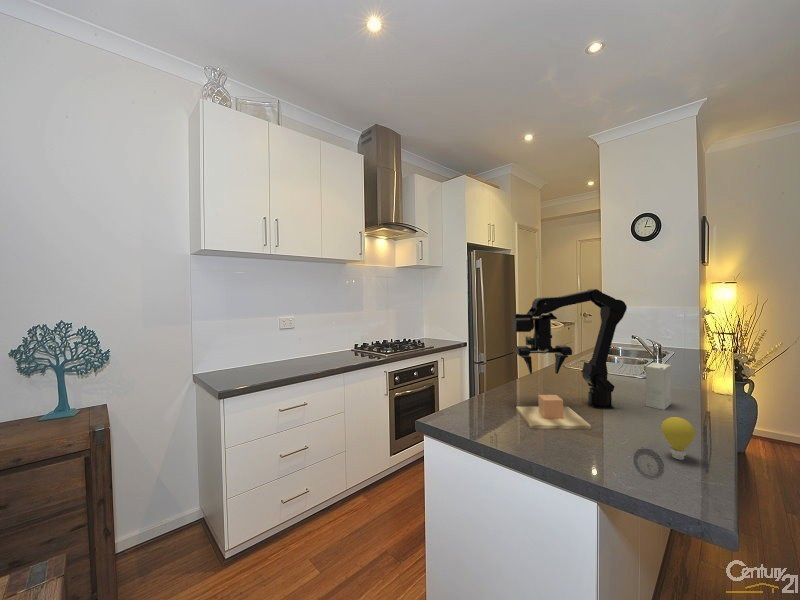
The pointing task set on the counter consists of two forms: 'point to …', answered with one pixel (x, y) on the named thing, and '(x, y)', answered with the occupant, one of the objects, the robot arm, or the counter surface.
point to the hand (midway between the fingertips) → (543, 373)
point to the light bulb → (678, 435)
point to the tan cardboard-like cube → (550, 406)
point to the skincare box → (658, 385)
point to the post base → (538, 422)
